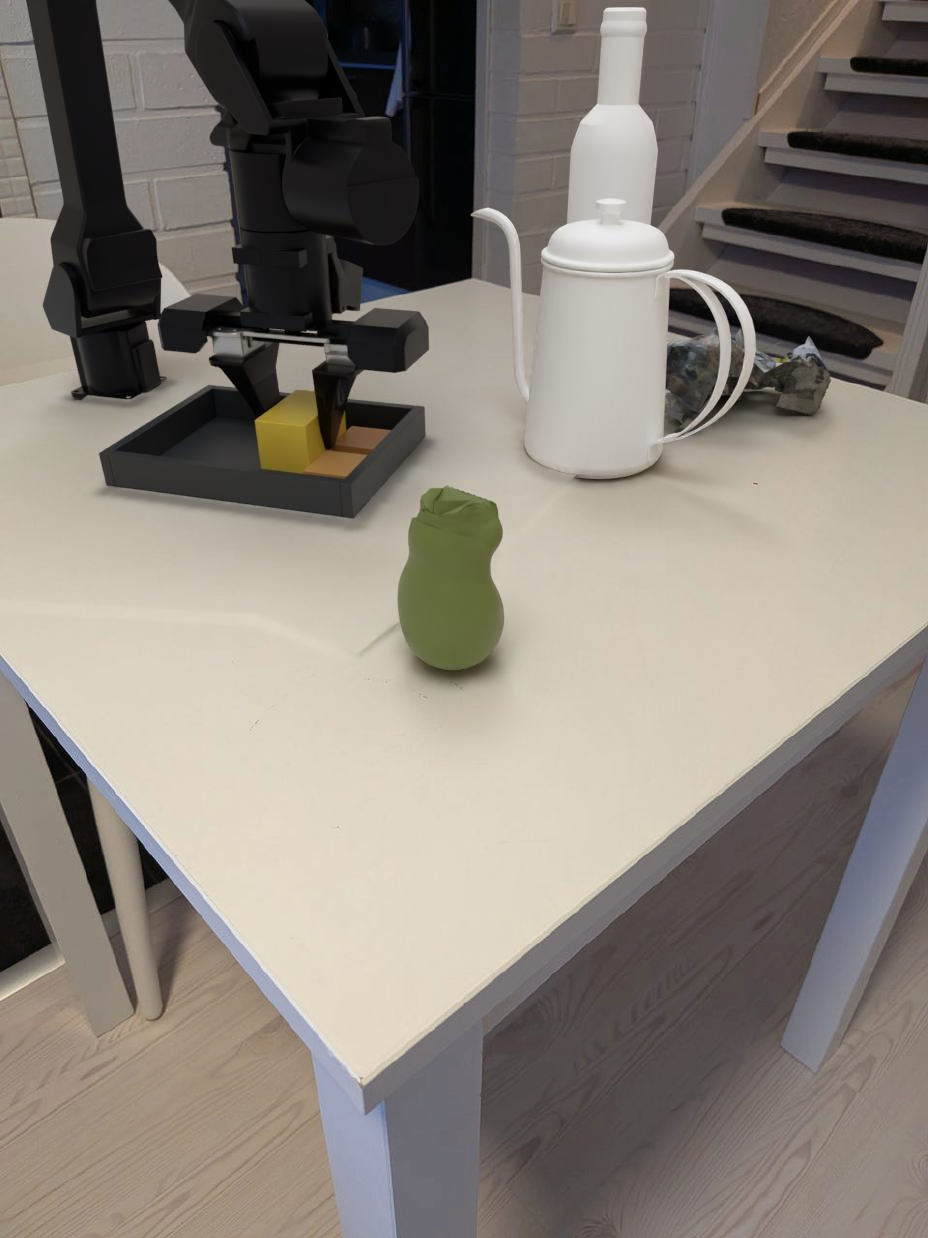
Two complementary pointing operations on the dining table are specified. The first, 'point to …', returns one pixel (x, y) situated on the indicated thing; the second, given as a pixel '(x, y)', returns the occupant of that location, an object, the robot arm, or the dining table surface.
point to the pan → (253, 456)
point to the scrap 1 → (334, 464)
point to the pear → (451, 580)
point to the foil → (699, 365)
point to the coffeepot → (607, 344)
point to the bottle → (615, 128)
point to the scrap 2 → (360, 440)
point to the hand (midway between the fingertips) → (304, 444)
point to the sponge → (291, 433)
